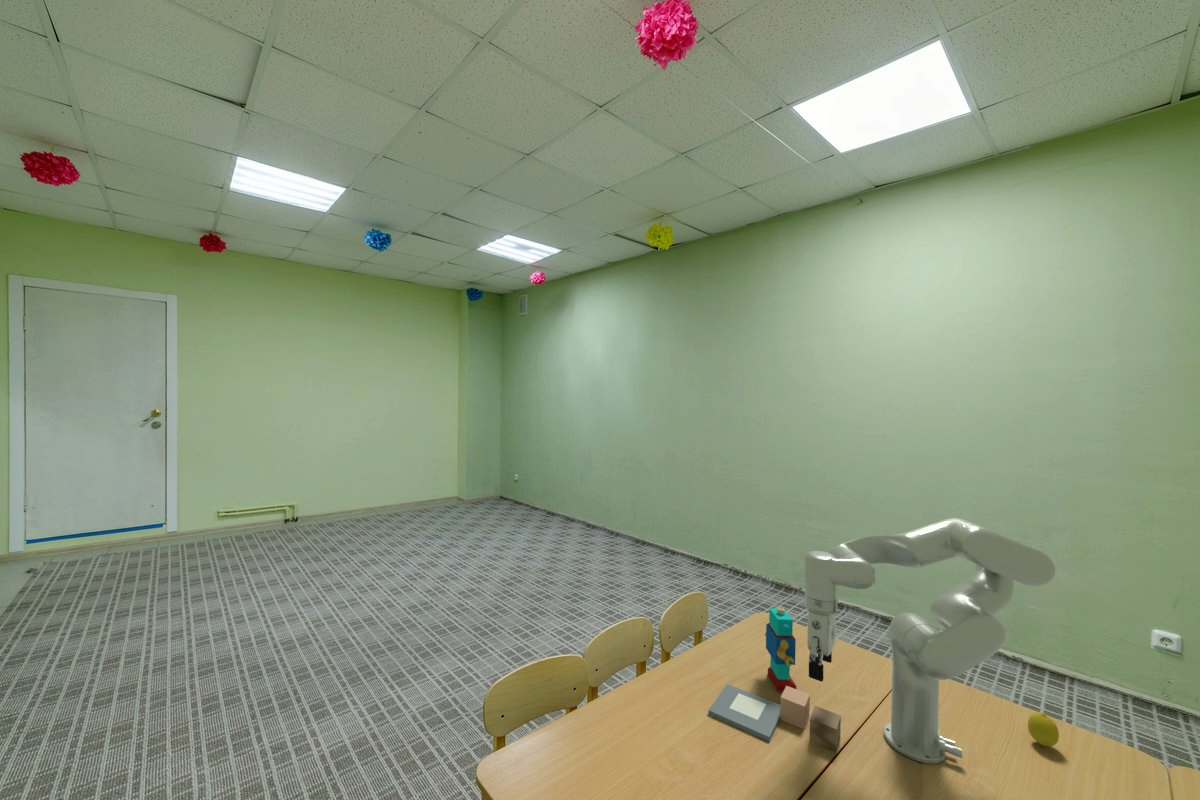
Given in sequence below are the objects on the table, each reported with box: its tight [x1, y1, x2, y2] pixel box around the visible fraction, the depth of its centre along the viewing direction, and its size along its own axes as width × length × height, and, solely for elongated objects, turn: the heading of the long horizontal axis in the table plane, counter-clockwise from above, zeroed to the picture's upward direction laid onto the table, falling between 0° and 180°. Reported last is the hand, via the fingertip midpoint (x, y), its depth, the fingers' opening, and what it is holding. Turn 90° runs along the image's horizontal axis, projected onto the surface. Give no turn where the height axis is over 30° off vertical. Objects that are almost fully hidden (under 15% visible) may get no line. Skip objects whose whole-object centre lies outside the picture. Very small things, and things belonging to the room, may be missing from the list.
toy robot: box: [764, 600, 797, 692], centre depth 136 cm, size 12×6×25 cm, turn 179°
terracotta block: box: [779, 686, 811, 730], centre depth 121 cm, size 6×6×6 cm
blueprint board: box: [707, 683, 781, 742], centre depth 123 cm, size 16×14×1 cm
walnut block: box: [809, 705, 842, 754], centre depth 113 cm, size 6×6×6 cm
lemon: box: [1027, 712, 1060, 747], centre depth 112 cm, size 6×6×8 cm
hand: (820, 669), depth 115 cm, fingers open, 9 cm apart
